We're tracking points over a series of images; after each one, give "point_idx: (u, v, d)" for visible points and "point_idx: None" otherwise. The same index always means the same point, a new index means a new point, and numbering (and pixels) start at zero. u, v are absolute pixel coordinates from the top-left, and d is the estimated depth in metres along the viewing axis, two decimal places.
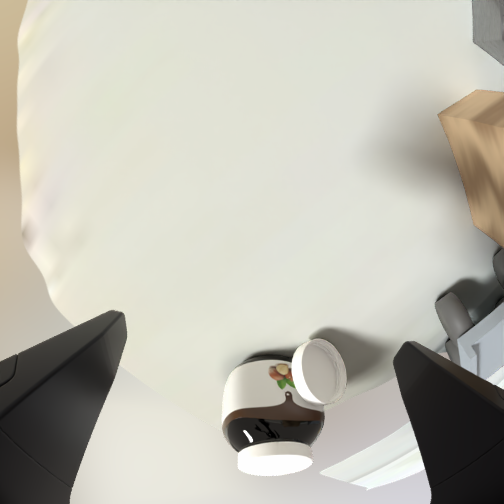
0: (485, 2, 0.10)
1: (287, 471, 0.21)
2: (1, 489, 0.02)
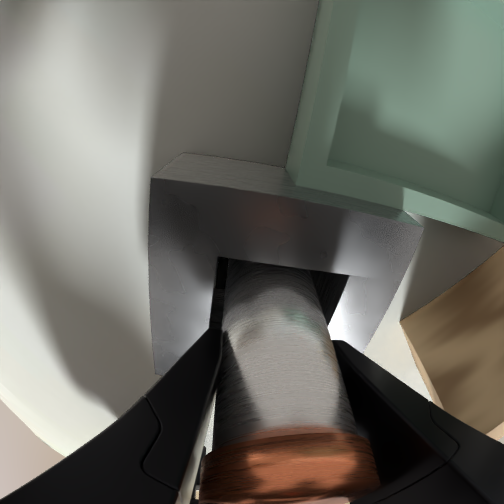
0: None
1: None
2: None
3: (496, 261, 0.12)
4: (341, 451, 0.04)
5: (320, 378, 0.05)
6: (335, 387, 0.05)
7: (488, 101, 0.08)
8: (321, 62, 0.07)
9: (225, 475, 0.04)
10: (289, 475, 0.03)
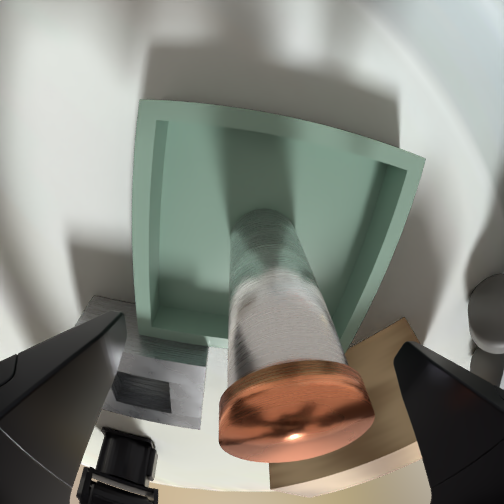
0: None
1: None
2: (1, 489, 0.02)
3: (352, 353, 0.19)
4: (338, 375, 0.05)
5: (316, 324, 0.07)
6: (329, 332, 0.07)
7: (317, 244, 0.14)
8: (134, 276, 0.13)
9: (244, 400, 0.05)
10: (298, 392, 0.05)
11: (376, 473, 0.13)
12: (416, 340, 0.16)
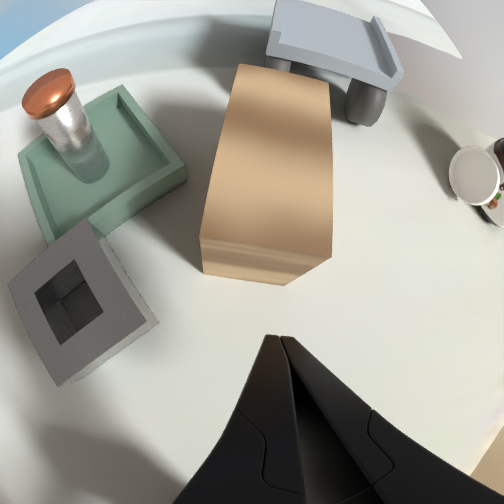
0: (102, 359, 0.16)
1: None
2: None
3: None
4: None
5: None
6: None
7: (119, 148, 0.22)
8: None
9: None
10: None
11: (299, 143, 0.14)
12: None
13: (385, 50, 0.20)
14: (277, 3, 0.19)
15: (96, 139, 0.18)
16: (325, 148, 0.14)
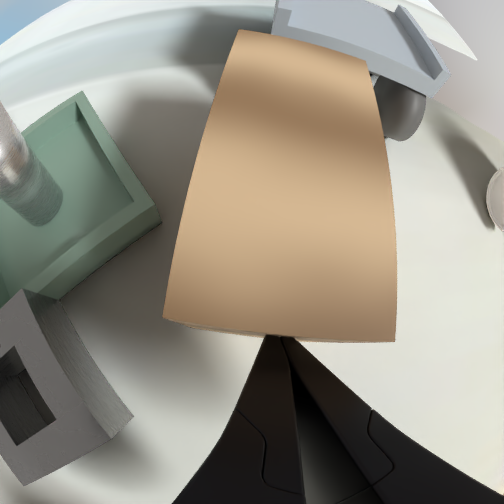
0: None
1: None
2: None
3: None
4: None
5: None
6: None
7: (75, 177, 0.16)
8: None
9: None
10: None
11: (337, 141, 0.08)
12: None
13: (421, 44, 0.14)
14: None
15: (38, 168, 0.12)
16: (377, 152, 0.09)
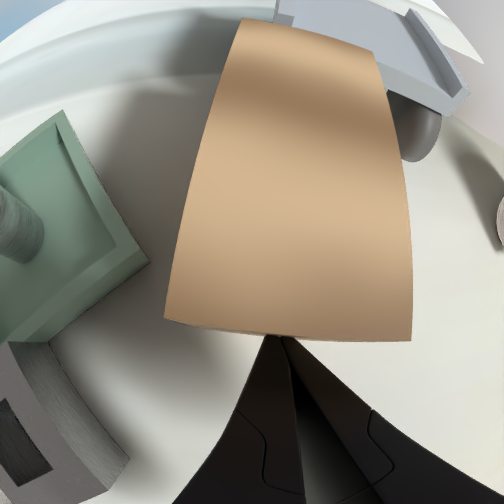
0: None
1: None
2: None
3: None
4: None
5: None
6: None
7: (57, 209, 0.14)
8: None
9: None
10: None
11: (348, 130, 0.08)
12: None
13: (436, 55, 0.13)
14: None
15: (11, 209, 0.10)
16: (388, 142, 0.08)
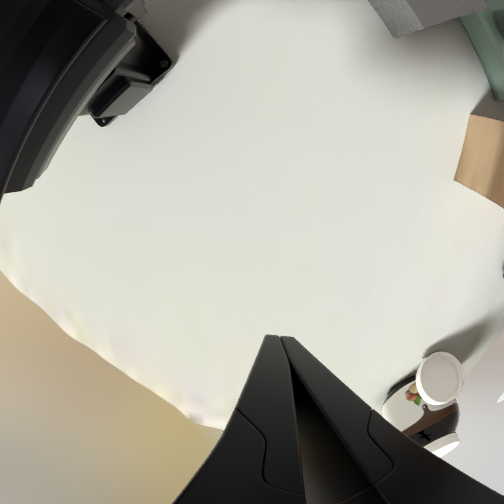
0: None
1: (447, 451, 0.22)
2: None
3: None
4: None
5: None
6: None
7: None
8: None
9: None
10: None
11: None
12: None
13: None
14: None
15: None
16: None
